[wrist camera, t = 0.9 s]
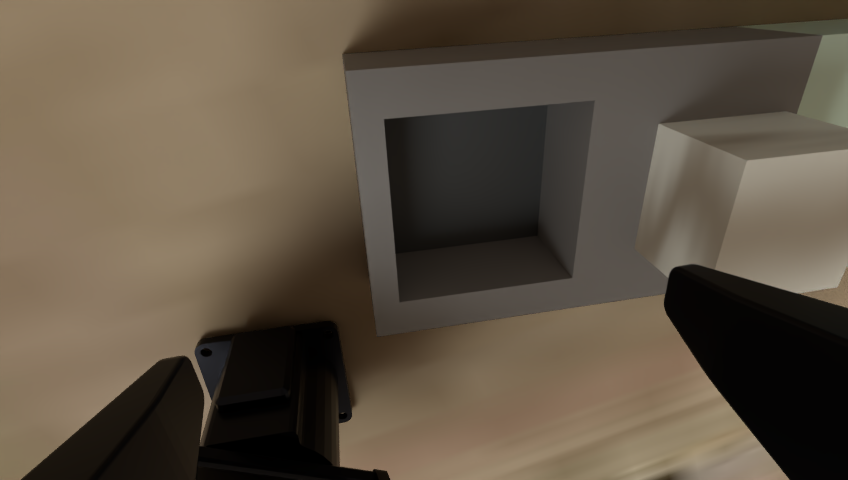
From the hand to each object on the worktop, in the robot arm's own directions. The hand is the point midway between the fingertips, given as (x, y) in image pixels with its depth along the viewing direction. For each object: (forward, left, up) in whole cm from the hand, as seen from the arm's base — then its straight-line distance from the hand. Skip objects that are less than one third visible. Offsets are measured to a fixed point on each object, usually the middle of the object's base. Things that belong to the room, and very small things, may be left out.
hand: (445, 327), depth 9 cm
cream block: (-2, -12, -8) cm, 14 cm away
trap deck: (-2, -16, -12) cm, 20 cm away
